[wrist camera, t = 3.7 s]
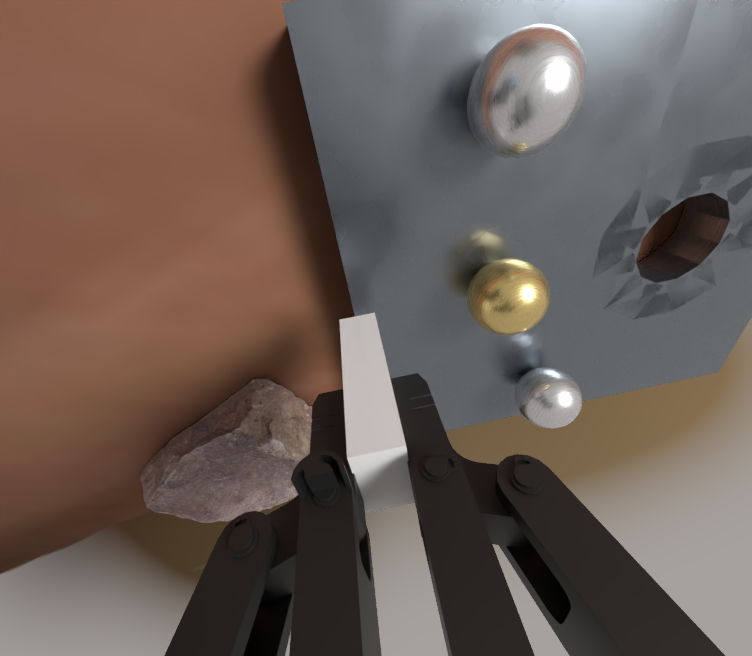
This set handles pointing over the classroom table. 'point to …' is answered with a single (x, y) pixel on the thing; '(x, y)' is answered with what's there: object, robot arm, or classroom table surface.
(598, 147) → the plate
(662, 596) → the robot arm
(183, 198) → the classroom table surface
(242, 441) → the stone
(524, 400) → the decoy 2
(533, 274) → the brass ball
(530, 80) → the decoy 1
